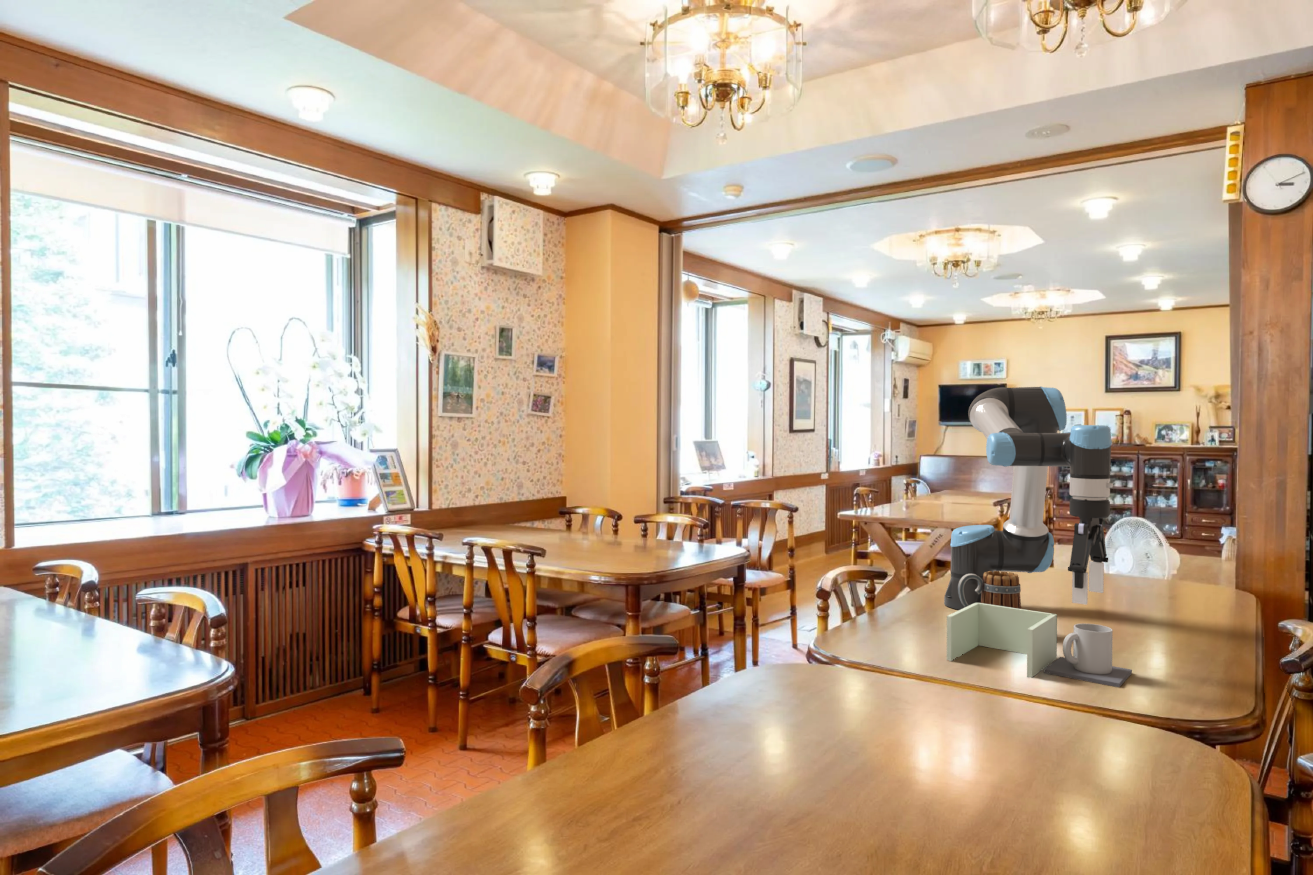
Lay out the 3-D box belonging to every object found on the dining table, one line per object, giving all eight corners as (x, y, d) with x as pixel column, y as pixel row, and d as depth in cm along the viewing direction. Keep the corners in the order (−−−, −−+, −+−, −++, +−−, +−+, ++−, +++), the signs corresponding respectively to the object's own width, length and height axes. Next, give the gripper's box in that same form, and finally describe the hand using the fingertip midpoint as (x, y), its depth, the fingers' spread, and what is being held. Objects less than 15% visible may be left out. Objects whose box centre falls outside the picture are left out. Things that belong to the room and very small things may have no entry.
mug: (1014, 627, 205) (1015, 570, 205) (1029, 638, 195) (1030, 578, 195) (952, 626, 207) (953, 569, 207) (964, 637, 196) (964, 577, 196)
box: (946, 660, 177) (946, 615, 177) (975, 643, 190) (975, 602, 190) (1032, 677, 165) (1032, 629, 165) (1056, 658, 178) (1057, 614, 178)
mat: (1044, 672, 168) (1044, 669, 168) (1060, 660, 177) (1060, 656, 177) (1119, 687, 159) (1119, 683, 159) (1131, 673, 168) (1131, 669, 168)
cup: (1119, 674, 164) (1120, 631, 164) (1072, 675, 164) (1072, 632, 164) (1099, 664, 171) (1099, 623, 171) (1053, 664, 171) (1054, 623, 171)
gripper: (1094, 504, 155) (1093, 611, 156) (1123, 494, 174) (1121, 589, 175) (1053, 501, 160) (1052, 605, 161) (1085, 491, 179) (1083, 584, 180)
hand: (1088, 597), depth 168 cm, fingers open, 13 cm apart
